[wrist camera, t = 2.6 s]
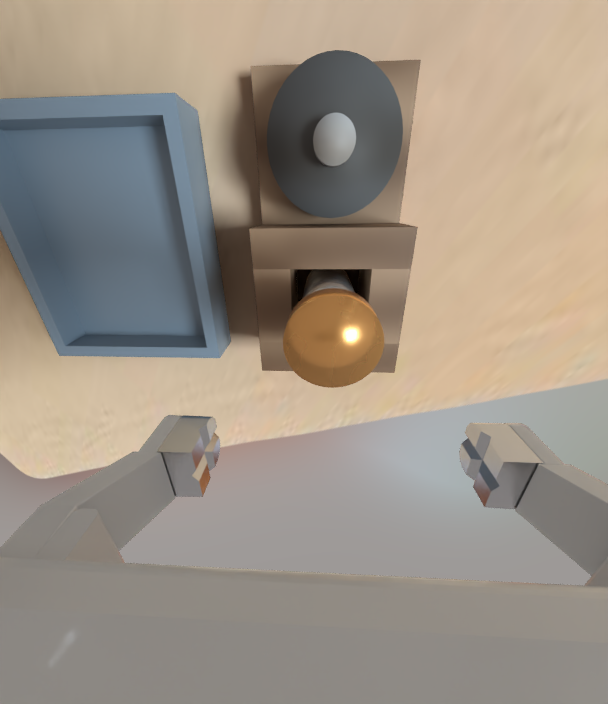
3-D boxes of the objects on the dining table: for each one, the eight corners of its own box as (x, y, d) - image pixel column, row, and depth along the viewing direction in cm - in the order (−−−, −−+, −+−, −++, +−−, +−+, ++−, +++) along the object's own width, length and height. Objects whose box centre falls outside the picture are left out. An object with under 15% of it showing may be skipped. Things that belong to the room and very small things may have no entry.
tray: (-3, 116, 21) (-60, 101, 17) (197, 110, 20) (174, 92, 17) (87, 339, 29) (59, 355, 26) (231, 341, 28) (219, 358, 25)
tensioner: (255, 76, 19) (230, 25, 14) (413, 70, 18) (451, 14, 13) (273, 338, 28) (262, 370, 22) (379, 340, 27) (394, 372, 22)
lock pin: (297, 256, 24) (280, 295, 13) (359, 256, 24) (390, 296, 13) (299, 314, 26) (284, 386, 16) (354, 314, 26) (378, 388, 16)
